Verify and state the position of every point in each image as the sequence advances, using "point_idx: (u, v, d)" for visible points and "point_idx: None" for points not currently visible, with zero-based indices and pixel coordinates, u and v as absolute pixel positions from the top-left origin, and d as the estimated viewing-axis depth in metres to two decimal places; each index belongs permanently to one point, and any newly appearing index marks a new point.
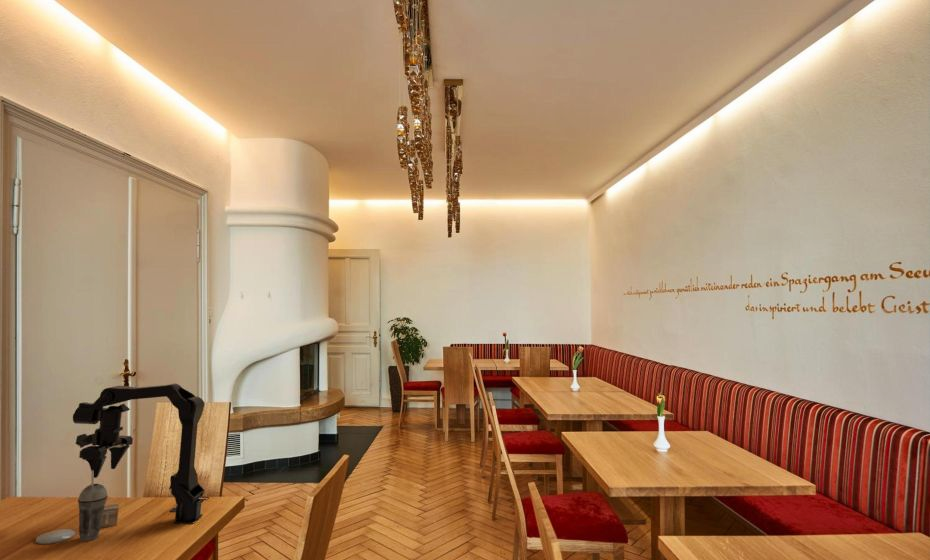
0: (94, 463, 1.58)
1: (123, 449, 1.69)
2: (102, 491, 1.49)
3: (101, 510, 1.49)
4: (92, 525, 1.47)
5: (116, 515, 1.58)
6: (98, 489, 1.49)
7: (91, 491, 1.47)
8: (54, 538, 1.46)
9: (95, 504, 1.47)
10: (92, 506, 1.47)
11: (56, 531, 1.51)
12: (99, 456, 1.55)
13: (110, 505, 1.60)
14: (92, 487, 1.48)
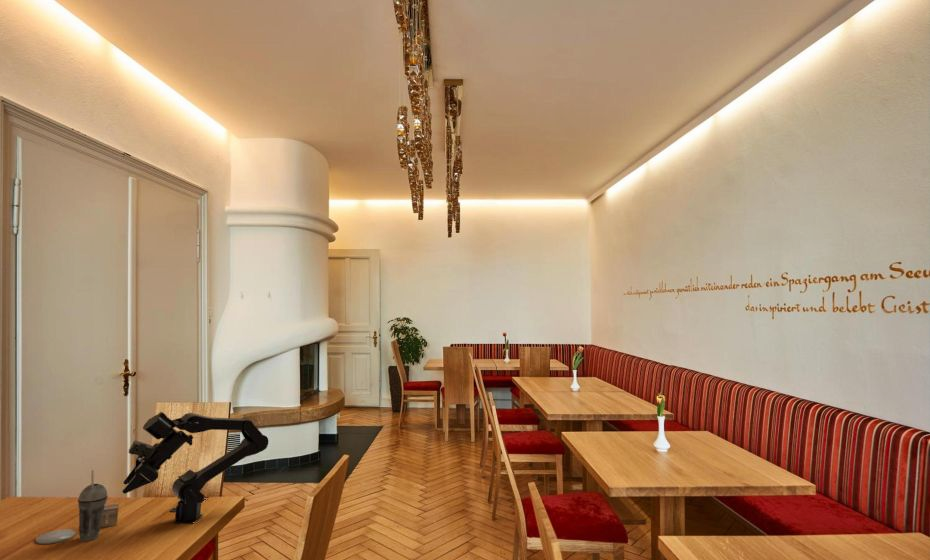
0: (136, 480, 1.51)
1: None
2: (102, 491, 1.49)
3: (101, 510, 1.49)
4: (92, 525, 1.47)
5: (116, 515, 1.58)
6: (98, 489, 1.49)
7: (91, 491, 1.47)
8: (54, 538, 1.46)
9: (95, 504, 1.47)
10: (92, 506, 1.47)
11: (56, 531, 1.51)
12: None
13: (110, 505, 1.60)
14: (92, 487, 1.48)
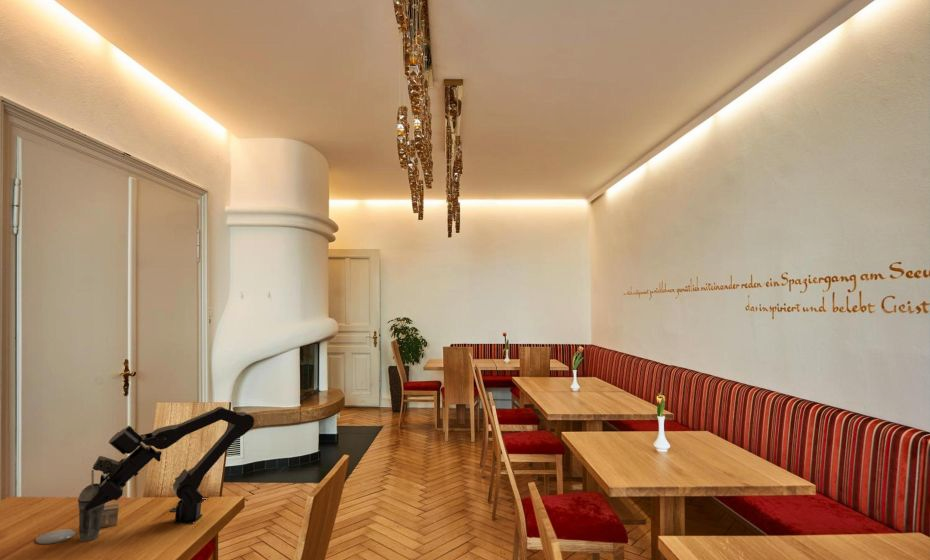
0: (99, 497, 1.47)
1: None
2: None
3: (101, 510, 1.49)
4: (92, 525, 1.47)
5: (116, 515, 1.58)
6: None
7: (91, 491, 1.47)
8: (54, 538, 1.46)
9: None
10: None
11: (56, 531, 1.51)
12: (117, 498, 1.46)
13: (110, 505, 1.60)
14: (92, 487, 1.48)
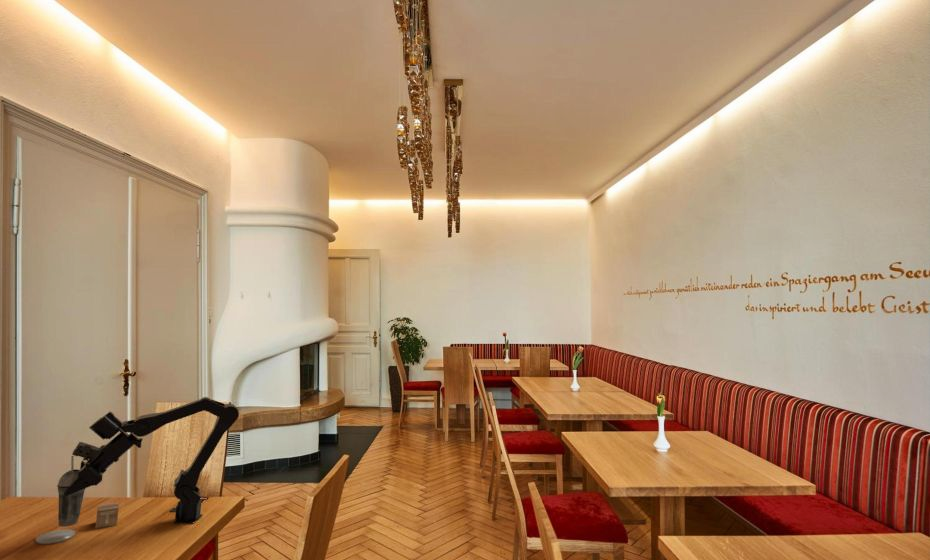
0: (79, 482, 1.46)
1: None
2: None
3: (81, 496, 1.49)
4: (71, 511, 1.47)
5: (116, 515, 1.58)
6: None
7: (71, 476, 1.47)
8: (54, 538, 1.46)
9: None
10: None
11: (56, 531, 1.51)
12: (97, 484, 1.46)
13: (110, 505, 1.60)
14: (72, 472, 1.48)
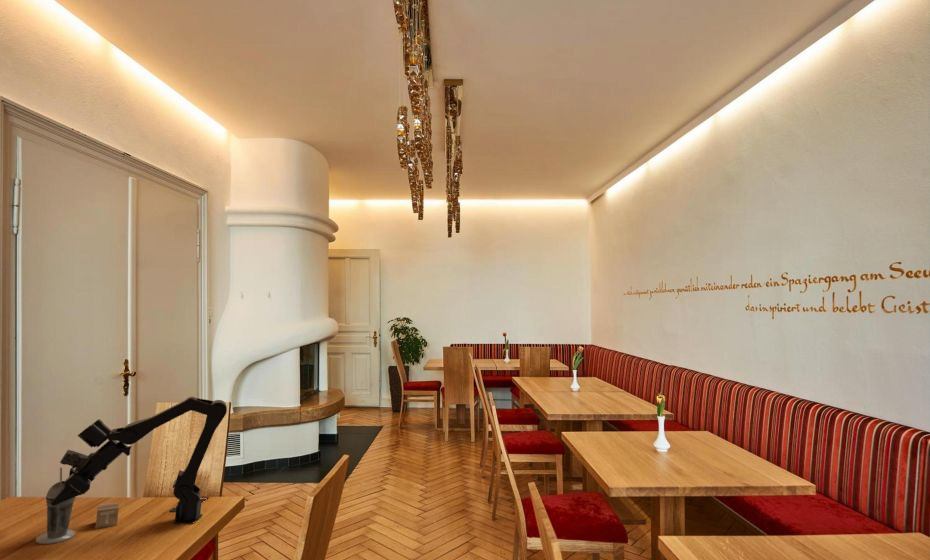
0: (66, 492, 1.45)
1: None
2: None
3: (69, 507, 1.49)
4: (60, 523, 1.47)
5: (116, 515, 1.58)
6: None
7: (59, 488, 1.47)
8: (54, 538, 1.46)
9: None
10: (59, 503, 1.46)
11: None
12: (84, 492, 1.45)
13: (110, 505, 1.60)
14: (60, 484, 1.48)
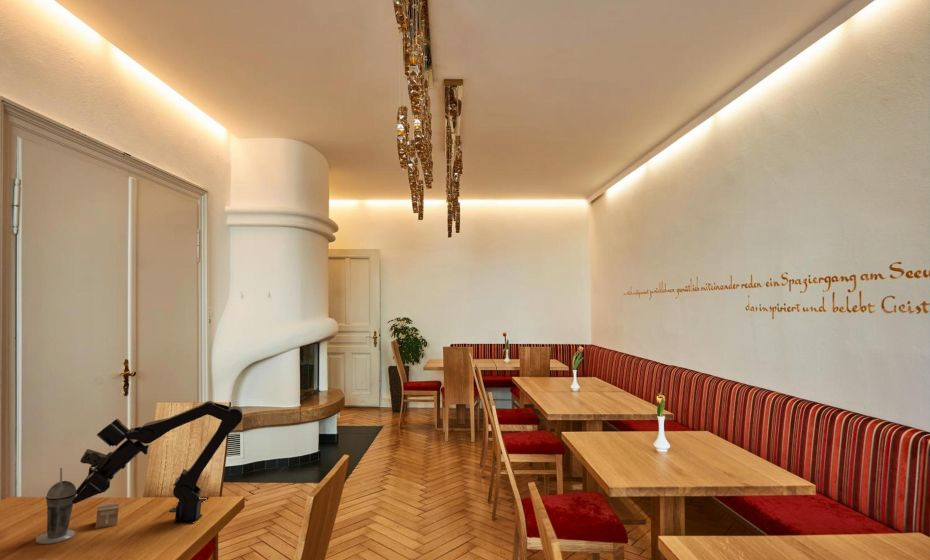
0: (87, 490, 1.48)
1: None
2: (71, 489, 1.49)
3: (69, 507, 1.49)
4: (60, 523, 1.47)
5: (116, 515, 1.58)
6: (66, 486, 1.48)
7: (59, 488, 1.47)
8: (54, 538, 1.46)
9: (63, 501, 1.47)
10: (59, 503, 1.46)
11: None
12: (105, 490, 1.48)
13: (110, 505, 1.60)
14: (60, 484, 1.48)
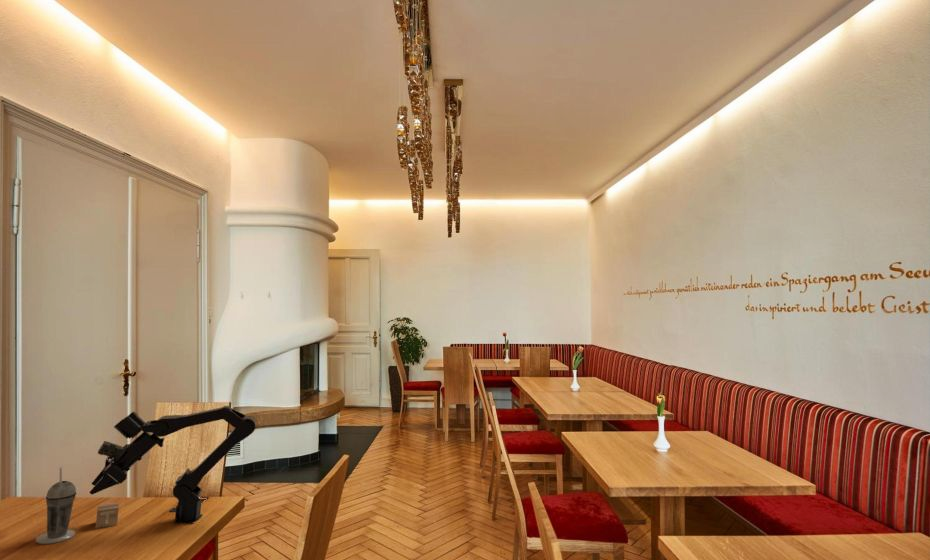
0: (104, 481, 1.50)
1: None
2: (71, 488, 1.49)
3: (69, 507, 1.49)
4: (60, 523, 1.47)
5: (116, 515, 1.58)
6: (66, 486, 1.48)
7: (59, 488, 1.47)
8: (54, 538, 1.46)
9: (63, 501, 1.47)
10: (59, 503, 1.46)
11: None
12: None
13: (110, 505, 1.60)
14: (60, 484, 1.48)
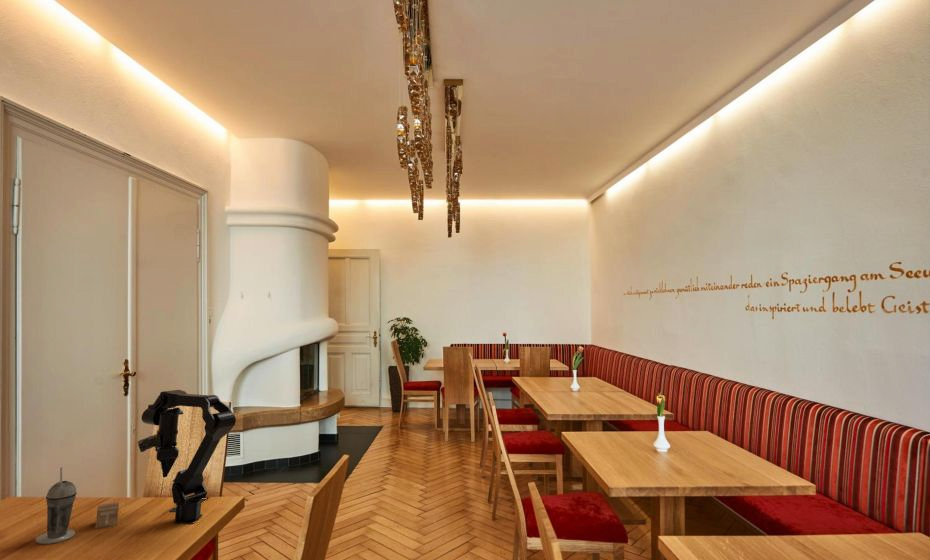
0: (165, 463, 1.66)
1: None
2: (71, 488, 1.49)
3: (69, 507, 1.49)
4: (60, 523, 1.47)
5: (116, 515, 1.58)
6: (66, 486, 1.48)
7: (59, 488, 1.47)
8: (54, 538, 1.46)
9: (63, 501, 1.47)
10: (60, 503, 1.46)
11: None
12: None
13: (110, 505, 1.60)
14: (60, 484, 1.48)
